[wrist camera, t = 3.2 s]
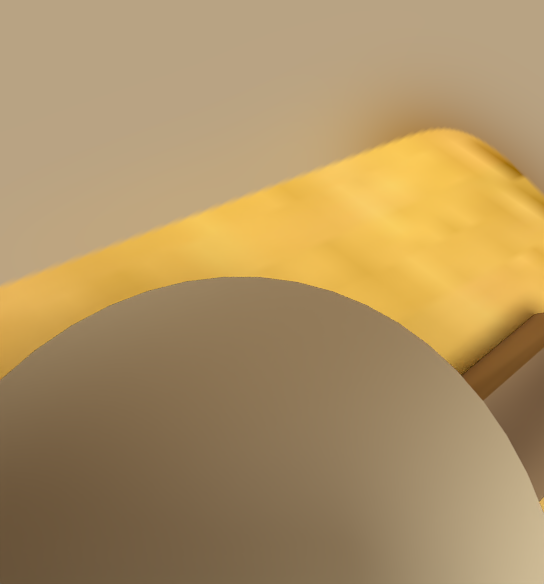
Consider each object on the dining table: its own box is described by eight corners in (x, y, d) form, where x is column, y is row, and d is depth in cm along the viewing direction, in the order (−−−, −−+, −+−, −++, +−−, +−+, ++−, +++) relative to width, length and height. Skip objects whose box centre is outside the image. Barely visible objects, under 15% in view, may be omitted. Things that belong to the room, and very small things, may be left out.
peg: (320, 420, 15) (712, 686, 2) (226, 494, 14) (80, 1573, 1) (258, 328, 16) (313, 173, 3) (164, 392, 15) (-291, 532, 2)
